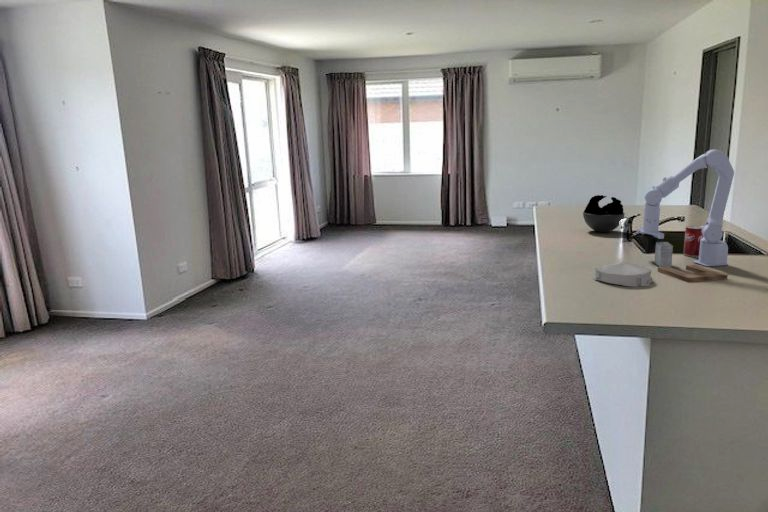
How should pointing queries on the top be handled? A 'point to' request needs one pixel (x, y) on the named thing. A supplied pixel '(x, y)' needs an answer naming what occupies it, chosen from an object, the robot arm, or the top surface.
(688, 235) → the soda can
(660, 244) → the medicine box
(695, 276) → the notched board
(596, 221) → the coal bowl
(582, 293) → the top surface
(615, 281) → the food container
